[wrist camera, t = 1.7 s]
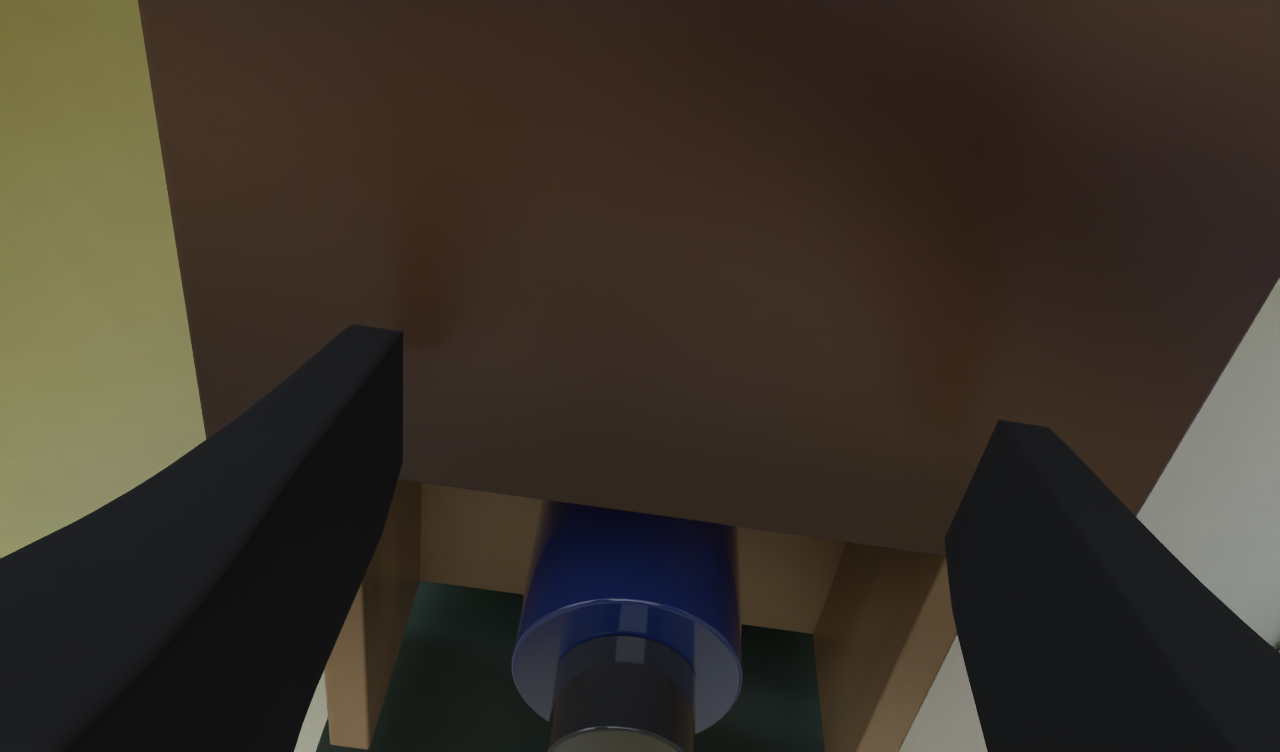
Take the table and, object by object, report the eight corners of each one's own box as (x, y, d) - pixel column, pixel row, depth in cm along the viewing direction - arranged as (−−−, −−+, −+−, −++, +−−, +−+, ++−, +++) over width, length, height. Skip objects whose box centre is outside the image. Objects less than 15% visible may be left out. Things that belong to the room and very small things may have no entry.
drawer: (800, 758, 29) (816, 965, 25) (380, 703, 29) (319, 904, 24) (1018, 216, 19) (1116, 404, 14) (366, 117, 18) (252, 278, 14)
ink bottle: (718, 553, 23) (720, 855, 17) (541, 528, 23) (486, 825, 17) (754, 416, 20) (770, 715, 15) (557, 388, 20) (498, 679, 15)
